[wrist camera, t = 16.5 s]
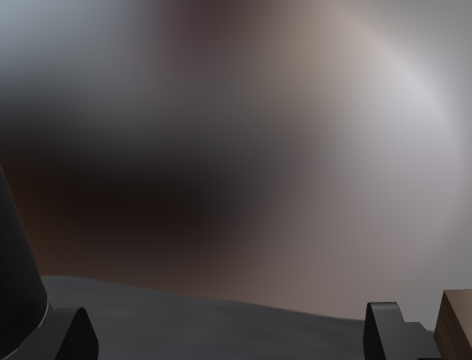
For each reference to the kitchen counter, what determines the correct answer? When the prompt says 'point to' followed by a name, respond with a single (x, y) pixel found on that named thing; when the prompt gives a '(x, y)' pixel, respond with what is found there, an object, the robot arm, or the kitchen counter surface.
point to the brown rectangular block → (455, 325)
